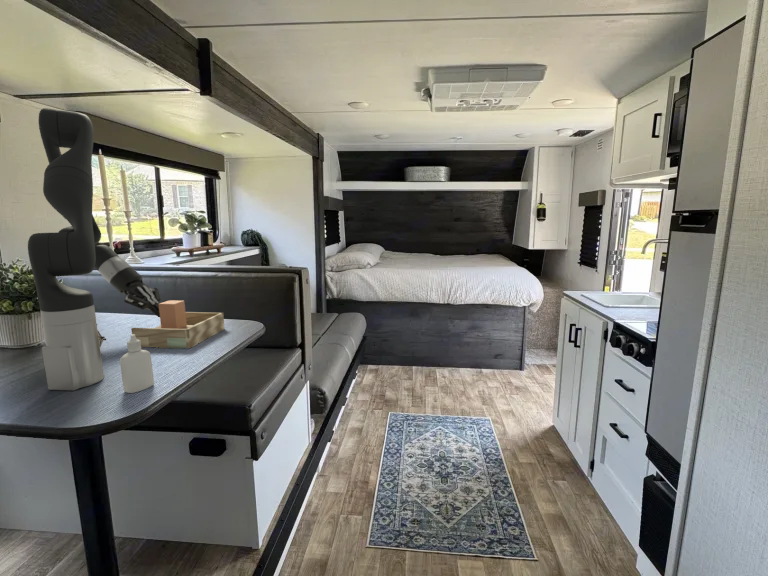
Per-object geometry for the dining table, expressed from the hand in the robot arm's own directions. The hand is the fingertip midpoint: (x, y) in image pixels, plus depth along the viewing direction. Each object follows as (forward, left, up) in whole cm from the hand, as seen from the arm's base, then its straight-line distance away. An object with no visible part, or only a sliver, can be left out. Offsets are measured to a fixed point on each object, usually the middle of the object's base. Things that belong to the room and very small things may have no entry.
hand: (163, 314), depth 122 cm
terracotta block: (0, -3, -4) cm, 5 cm away
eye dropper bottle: (-36, -18, -7) cm, 41 cm away
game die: (-17, +11, -7) cm, 21 cm away
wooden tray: (0, -5, -7) cm, 9 cm away
